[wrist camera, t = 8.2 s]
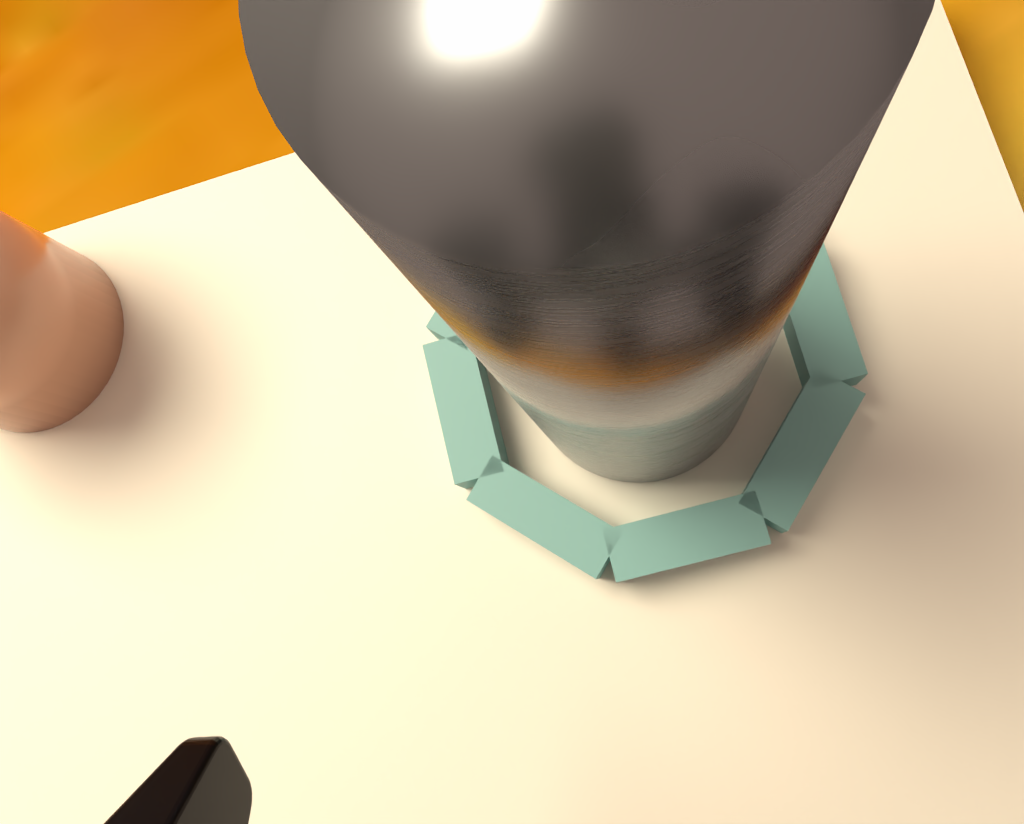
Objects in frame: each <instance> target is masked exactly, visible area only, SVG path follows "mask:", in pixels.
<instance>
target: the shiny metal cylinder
mask: <svg viewBox="0 0 1024 824" xmlns="http://www.w3.org/2000/svg"><path fill="white" fill-rule="evenodd" d="M238 1H239V17H240V23H241V29H242V34H243V40H244V46H245V51H246V55H247V58H248V61H249V64H250V67H251V70H252V73H253V76H254V79H255V82H256V85H257V88H258V91H259V93H260V95H261V97H262V99H263V101H264V103H265V105H266V107H267V109H268V111H269V113H270V115H271V116H272V118H273V120H274V122H275V124H276V126H277V128H278V129H279V130H280V132H281V133H282V135H283V136H284V137H285V139H286V140H287V142H288V143H289V144H290V146H291V147H292V149H293V150H294V151H295V153H296V154H297V156H298V157H299V158H300V160H301V161H302V162H303V163H304V164H305V165H306V166H307V167H308V169H309V170H310V171H311V172H312V173H313V174H314V175H315V176H316V178H317V179H318V180H319V181H320V182H321V183H322V184H323V185H324V187H325V188H326V189H327V190H328V191H329V192H330V193H331V194H332V196H333V197H334V198H335V199H336V200H337V201H338V202H339V203H340V205H341V206H342V207H343V208H344V209H345V210H346V211H347V212H348V213H349V215H350V216H351V217H352V218H353V219H354V220H355V221H356V222H357V224H358V225H359V226H360V227H361V228H362V229H363V230H364V231H365V233H366V234H367V235H368V236H369V237H370V238H371V239H372V240H373V242H374V243H375V244H376V245H377V246H378V247H379V248H380V249H381V251H382V252H383V253H384V254H385V255H386V256H387V257H388V258H389V260H390V261H391V262H392V263H393V264H394V265H395V266H396V267H397V269H398V270H399V271H400V272H401V273H402V274H403V275H404V276H405V277H406V279H407V280H408V281H409V282H410V283H411V284H412V285H413V286H414V288H415V289H416V290H417V291H418V292H419V293H420V294H421V295H422V297H423V298H424V299H425V300H426V301H427V302H428V303H429V304H430V306H431V307H432V308H433V309H434V310H435V311H436V312H437V313H438V315H439V316H440V317H441V318H442V319H443V320H444V321H445V322H446V324H447V325H448V326H449V327H450V328H451V329H452V330H453V331H454V333H455V334H456V335H457V336H458V337H459V338H460V339H461V340H462V341H463V343H464V344H465V345H466V346H467V347H468V348H469V349H470V350H471V352H472V353H473V354H474V355H475V356H476V357H477V358H478V359H479V361H480V362H481V363H482V364H483V365H484V366H485V367H486V368H487V370H488V371H489V372H490V373H491V374H492V375H493V376H494V377H495V379H496V380H497V381H498V382H499V383H500V384H501V385H502V386H503V388H504V389H505V390H506V391H507V392H508V393H509V394H510V395H511V397H512V398H513V399H514V400H515V401H516V402H517V403H518V404H519V405H520V407H521V408H522V409H523V410H524V411H525V412H526V413H527V414H528V416H529V417H530V418H531V419H532V420H533V421H534V422H535V423H536V425H537V426H538V427H539V428H540V429H541V430H542V431H543V432H544V434H545V435H546V436H547V437H548V438H549V439H550V440H551V441H552V443H553V444H554V445H555V446H556V447H557V448H558V449H559V450H560V451H561V452H562V453H563V454H564V455H565V456H566V457H568V458H569V459H570V460H571V461H573V462H574V463H575V464H577V465H579V466H580V467H582V468H584V469H585V470H587V471H589V472H592V473H594V474H596V475H598V476H601V477H605V478H608V479H612V480H616V481H623V482H637V483H644V482H653V481H659V480H664V479H668V478H672V477H674V476H677V475H680V474H682V473H685V472H687V471H689V470H690V469H692V468H694V467H696V466H698V465H699V464H701V463H702V462H703V461H705V460H706V459H708V458H709V457H710V456H711V455H712V454H713V453H714V452H715V451H716V450H718V449H719V448H720V447H721V445H722V444H723V443H724V442H725V440H726V439H727V438H728V437H729V435H730V434H731V432H732V431H733V429H734V427H735V426H736V424H737V422H738V420H739V418H740V416H741V414H742V412H743V410H744V407H745V405H746V403H747V401H748V399H749V397H750V395H751V393H752V391H753V389H754V387H755V384H756V382H757V380H758V378H759V376H760V374H761V372H762V370H763V368H764V366H765V364H766V361H767V359H768V357H769V355H770V353H771V351H772V349H773V347H774V345H775V343H776V341H777V339H778V336H779V334H780V332H781V330H782V328H783V326H784V324H785V322H786V320H787V318H788V316H789V313H790V311H791V309H792V307H793V305H794V303H795V301H796V299H797V297H798V295H799V293H800V290H801V288H802V286H803V284H804V282H805V280H806V278H807V276H808V274H809V272H810V270H811V267H812V265H813V263H814V261H815V259H816V257H817V255H818V253H819V251H820V249H821V247H822V245H823V242H824V240H825V238H826V236H827V234H828V232H829V230H830V228H831V226H832V224H833V222H834V219H835V217H836V215H837V213H838V211H839V209H840V207H841V205H842V203H843V201H844V199H845V196H846V194H847V192H848V190H849V188H850V186H851V184H852V182H853V180H854V178H855V176H856V173H857V171H858V169H859V167H860V165H861V163H862V161H863V159H864V157H865V155H866V153H867V151H868V148H869V146H870V144H871V142H872V140H873V138H874V136H875V134H876V132H877V130H878V128H879V125H880V123H881V121H882V119H883V117H884V115H885V113H886V111H887V109H888V107H889V105H890V102H891V100H892V98H893V96H894V94H895V92H896V90H897V88H898V86H899V84H900V82H901V79H902V77H903V75H904V73H905V71H906V69H907V67H908V65H909V63H910V61H911V59H912V57H913V54H914V52H915V50H916V47H917V45H918V43H919V40H920V38H921V36H922V33H923V31H924V29H925V26H926V24H927V22H928V20H929V17H930V15H931V13H932V10H933V6H934V3H935V0H238Z"/></svg>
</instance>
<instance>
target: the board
mask: <svg viewBox="0 0 1024 824" xmlns="http://www.w3.org/2000/svg"><path fill="white" fill-rule="evenodd" d="M43 234H45V235H47V236H49V237H50V238H52V239H54V240H56V241H58V242H60V243H62V244H63V245H65V246H67V247H69V248H71V249H73V250H75V251H76V252H78V253H80V254H82V255H84V256H86V257H88V258H89V259H90V260H92V261H93V262H95V263H96V264H97V265H98V266H99V267H100V268H101V269H102V270H103V271H104V272H105V273H106V274H107V276H108V277H109V278H110V280H111V281H112V283H113V285H114V287H115V289H116V291H117V293H118V296H119V299H120V302H121V306H122V311H123V320H124V336H123V342H122V349H121V352H120V356H119V359H118V362H117V365H116V367H115V370H114V372H113V374H112V376H111V378H110V379H109V381H108V383H107V385H106V386H105V387H104V389H103V390H102V392H101V393H100V395H99V396H98V397H97V398H96V399H95V400H94V401H93V402H92V403H91V404H90V405H89V406H88V407H87V408H86V409H85V410H84V411H82V412H81V413H80V414H78V415H77V416H75V417H74V418H73V419H71V420H69V421H67V422H65V423H63V424H62V425H59V426H57V427H54V428H51V429H48V430H44V431H39V432H30V433H21V432H12V431H7V430H2V429H0V824H104V823H105V822H106V821H107V820H108V818H109V817H110V816H111V815H112V814H113V813H114V812H115V811H116V810H117V809H118V808H119V807H120V806H121V805H122V804H123V803H124V802H125V801H126V800H127V799H128V798H129V797H130V795H131V794H132V793H133V792H134V791H135V790H136V789H137V788H138V787H139V786H140V785H141V784H142V783H143V782H144V781H145V780H146V779H147V778H148V777H149V776H150V775H151V774H152V772H153V771H154V770H155V769H156V768H157V767H158V766H159V765H160V764H161V763H162V762H163V761H164V760H165V759H166V758H167V757H168V756H169V755H170V754H171V753H172V752H173V750H174V749H175V748H176V747H177V746H178V745H179V744H181V743H182V742H183V741H185V740H187V739H189V738H193V737H208V736H222V737H224V738H225V739H227V740H228V741H229V742H230V744H231V746H232V748H233V750H234V751H235V753H236V755H237V757H238V759H239V761H240V763H241V765H242V767H243V768H244V770H245V772H246V774H247V776H248V778H249V780H250V783H251V787H252V806H251V812H250V818H249V824H1024V212H1023V210H1022V207H1021V205H1020V202H1019V200H1018V197H1017V195H1016V192H1015V190H1014V187H1013V184H1012V182H1011V179H1010V177H1009V174H1008V172H1007V169H1006V167H1005V164H1004V161H1003V159H1002V156H1001V154H1000V151H999V149H998V146H997V144H996V141H995V139H994V136H993V133H992V131H991V128H990V126H989V123H988V121H987V118H986V116H985V113H984V110H983V108H982V105H981V103H980V100H979V98H978V95H977V93H976V90H975V88H974V85H973V82H972V80H971V77H970V75H969V72H968V70H967V67H966V65H965V62H964V59H963V57H962V54H961V52H960V49H959V47H958V44H957V42H956V39H955V37H954V34H953V31H952V29H951V26H950V24H949V21H948V19H947V16H946V14H945V11H944V9H943V6H942V3H941V1H940V0H935V3H934V6H933V10H932V13H931V15H930V17H929V20H928V22H927V24H926V26H925V29H924V31H923V33H922V36H921V38H920V40H919V43H918V45H917V47H916V50H915V52H914V54H913V57H912V59H911V61H910V63H909V65H908V67H907V69H906V71H905V73H904V75H903V77H902V79H901V82H900V84H899V86H898V88H897V90H896V92H895V94H894V96H893V98H892V100H891V102H890V105H889V107H888V109H887V111H886V113H885V115H884V117H883V119H882V121H881V123H880V125H879V128H878V130H877V132H876V134H875V136H874V138H873V140H872V142H871V144H870V146H869V148H868V151H867V153H866V155H865V157H864V159H863V161H862V163H861V165H860V167H859V169H858V171H857V173H856V176H855V178H854V180H853V182H852V184H851V186H850V188H849V190H848V192H847V194H846V196H845V199H844V201H843V203H842V205H841V207H840V209H839V211H838V213H837V215H836V217H835V219H834V222H833V224H832V226H831V228H830V230H829V232H828V234H827V236H826V238H825V240H824V242H823V245H822V247H821V249H820V251H819V253H818V255H817V257H816V259H815V261H814V263H813V265H812V267H811V270H810V272H809V274H808V276H807V278H806V280H805V282H804V284H803V286H802V288H801V290H800V293H799V295H798V297H797V299H796V301H795V303H794V305H793V307H792V309H791V311H790V313H789V316H788V318H787V320H786V322H785V324H784V326H783V328H782V330H781V332H780V334H779V336H778V339H777V341H776V343H775V345H774V347H773V349H772V351H771V353H770V355H769V357H768V359H767V361H766V364H765V366H764V368H763V370H762V372H761V374H760V376H759V378H758V380H757V382H756V384H755V387H754V389H753V391H752V393H751V395H750V397H749V399H748V401H747V403H746V405H745V407H744V410H743V412H742V414H741V416H740V418H739V420H738V422H737V424H736V426H735V427H734V429H733V431H732V432H731V434H730V435H729V437H728V438H727V439H726V440H725V442H724V443H723V444H722V445H721V447H720V448H719V449H718V450H716V451H715V452H714V453H713V454H712V455H711V456H710V457H709V458H708V459H706V460H705V461H703V462H702V463H701V464H699V465H698V466H696V467H694V468H692V469H690V470H689V471H687V472H685V473H682V474H680V475H677V476H674V477H672V478H668V479H664V480H659V481H653V482H644V483H637V482H623V481H616V480H612V479H608V478H605V477H601V476H598V475H596V474H594V473H592V472H589V471H587V470H585V469H584V468H582V467H580V466H579V465H577V464H575V463H574V462H573V461H571V460H570V459H569V458H568V457H566V456H565V455H564V454H563V453H562V452H561V451H560V450H559V449H558V448H557V447H556V446H555V445H554V444H553V443H552V441H551V440H550V439H549V438H548V437H547V436H546V435H545V434H544V432H543V431H542V430H541V429H540V428H539V427H538V426H537V425H536V423H535V422H534V421H533V420H532V419H531V418H530V417H529V416H528V414H527V413H526V412H525V411H524V410H523V409H522V408H521V407H520V405H519V404H518V403H517V402H516V401H515V400H514V399H513V398H512V397H511V395H510V394H509V393H508V392H507V391H506V390H505V389H504V388H503V386H502V385H501V384H500V383H499V382H498V381H497V380H496V379H495V377H494V376H493V375H492V374H491V373H490V372H489V371H488V370H487V368H486V367H485V366H484V365H483V364H482V363H481V362H480V361H479V359H478V358H477V357H476V356H475V355H474V354H473V353H472V352H471V350H470V349H469V348H468V347H467V346H466V345H465V344H464V343H463V341H462V340H461V339H460V338H459V337H458V336H457V335H456V334H455V333H454V331H453V330H452V329H451V328H450V327H449V326H448V325H447V324H446V322H445V321H444V320H443V319H442V318H441V317H440V316H439V315H438V313H437V312H436V311H435V310H434V309H433V308H432V307H431V306H430V304H429V303H428V302H427V301H426V300H425V299H424V298H423V297H422V295H421V294H420V293H419V292H418V291H417V290H416V289H415V288H414V286H413V285H412V284H411V283H410V282H409V281H408V280H407V279H406V277H405V276H404V275H403V274H402V273H401V272H400V271H399V270H398V269H397V267H396V266H395V265H394V264H393V263H392V262H391V261H390V260H389V258H388V257H387V256H386V255H385V254H384V253H383V252H382V251H381V249H380V248H379V247H378V246H377V245H376V244H375V243H374V242H373V240H372V239H371V238H370V237H369V236H368V235H367V234H366V233H365V231H364V230H363V229H362V228H361V227H360V226H359V225H358V224H357V222H356V221H355V220H354V219H353V218H352V217H351V216H350V215H349V213H348V212H347V211H346V210H345V209H344V208H343V207H342V206H341V205H340V203H339V202H338V201H337V200H336V199H335V198H334V197H333V196H332V194H331V193H330V192H329V191H328V190H327V189H326V188H325V187H324V185H323V184H322V183H321V182H320V181H319V180H318V179H317V178H316V176H315V175H314V174H313V173H312V172H311V171H310V170H309V169H308V167H307V166H306V165H305V164H304V163H303V162H302V161H301V160H300V158H299V157H298V156H297V154H296V153H292V154H289V155H286V156H283V157H280V158H276V159H273V160H270V161H267V162H264V163H261V164H258V165H255V166H252V167H248V168H245V169H242V170H239V171H236V172H233V173H230V174H227V175H224V176H220V177H217V178H214V179H211V180H208V181H205V182H202V183H199V184H195V185H192V186H189V187H186V188H183V189H180V190H177V191H174V192H171V193H167V194H164V195H161V196H158V197H155V198H152V199H149V200H146V201H143V202H139V203H136V204H133V205H130V206H127V207H124V208H121V209H118V210H115V211H111V212H108V213H105V214H102V215H99V216H96V217H93V218H90V219H87V220H83V221H80V222H77V223H74V224H71V225H68V226H65V227H62V228H58V229H55V230H52V231H49V232H46V233H43Z"/></svg>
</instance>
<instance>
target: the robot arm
mask: <svg viewBox="0 0 1024 824" xmlns="http://www.w3.org/2000/svg"><path fill="white" fill-rule="evenodd" d="M251 806H252V787H251V783H250V780H249V778H248V776H247V774H246V772H245V770H244V768H243V767H242V765H241V763H240V761H239V759H238V757H237V755H236V753H235V751H234V750H233V748H232V746H231V744H230V742H229V741H228V740H227V739H225V738H224V737H222V736H208V737H193V738H189V739H187V740H185V741H183V742H182V743H181V744H179V745H178V746H177V747H176V748H175V749H174V750H173V752H172V753H171V754H170V755H169V756H168V757H167V758H166V759H165V760H164V761H163V762H162V763H161V764H160V765H159V766H158V767H157V768H156V769H155V770H154V771H153V772H152V774H151V775H150V776H149V777H148V778H147V779H146V780H145V781H144V782H143V783H142V784H141V785H140V786H139V787H138V788H137V789H136V790H135V791H134V792H133V793H132V794H131V795H130V797H129V798H128V799H127V800H126V801H125V802H124V803H123V804H122V805H121V806H120V807H119V808H118V809H117V810H116V811H115V812H114V813H113V814H112V815H111V816H110V817H109V818H108V820H107V821H106V822H105V823H104V824H249V818H250V812H251Z"/></svg>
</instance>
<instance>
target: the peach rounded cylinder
mask: <svg viewBox="0 0 1024 824" xmlns="http://www.w3.org/2000/svg"><path fill="white" fill-rule="evenodd" d="M123 336H124V320H123V311H122V306H121V302H120V299H119V296H118V293H117V291H116V289H115V287H114V285H113V283H112V281H111V280H110V278H109V277H108V276H107V274H106V273H105V272H104V271H103V270H102V269H101V268H100V267H99V266H98V265H97V264H96V263H95V262H93V261H92V260H90V259H89V258H88V257H86V256H84V255H82V254H80V253H78V252H76V251H75V250H73V249H71V248H69V247H67V246H65V245H63V244H62V243H60V242H58V241H56V240H54V239H52V238H50V237H49V236H47V235H45V234H43V233H41V232H39V231H37V230H36V229H34V228H32V227H30V226H28V225H26V224H24V223H23V222H21V221H19V220H17V219H15V218H13V217H11V216H10V215H8V214H6V213H4V212H2V211H0V429H2V430H7V431H12V432H21V433H30V432H39V431H44V430H48V429H51V428H54V427H57V426H59V425H62V424H63V423H65V422H67V421H69V420H71V419H73V418H74V417H75V416H77V415H78V414H80V413H81V412H82V411H84V410H85V409H86V408H87V407H88V406H89V405H90V404H91V403H92V402H93V401H94V400H95V399H96V398H97V397H98V396H99V395H100V393H101V392H102V390H103V389H104V387H105V386H106V385H107V383H108V381H109V379H110V378H111V376H112V374H113V372H114V370H115V367H116V365H117V362H118V359H119V356H120V352H121V349H122V342H123Z"/></svg>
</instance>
